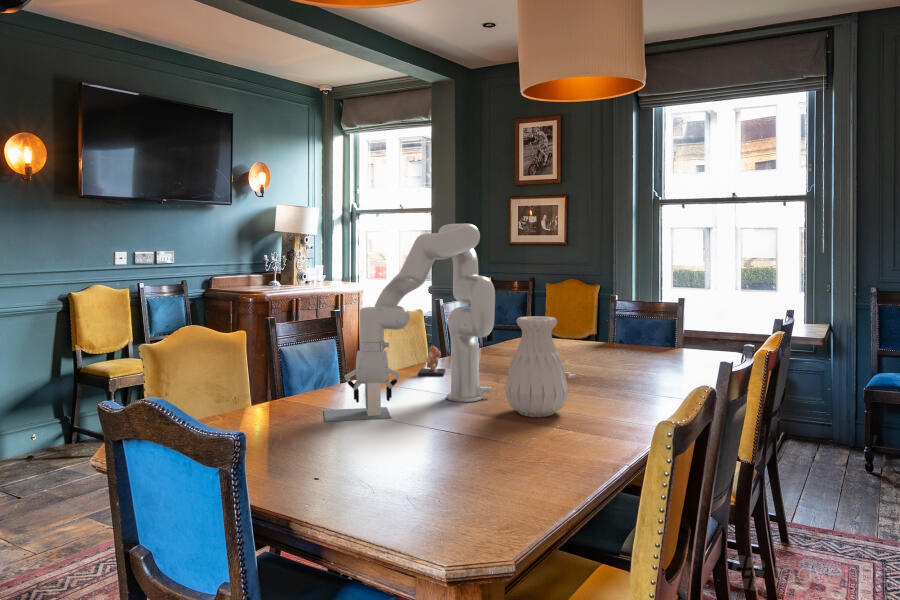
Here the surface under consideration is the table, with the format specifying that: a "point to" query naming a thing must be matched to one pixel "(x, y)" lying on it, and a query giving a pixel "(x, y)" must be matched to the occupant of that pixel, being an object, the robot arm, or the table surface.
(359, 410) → the slate mat
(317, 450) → the table surface
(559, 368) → the vase
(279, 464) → the table surface
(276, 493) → the table surface
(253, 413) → the table surface
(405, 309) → the robot arm
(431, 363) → the figurine
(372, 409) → the cream block
